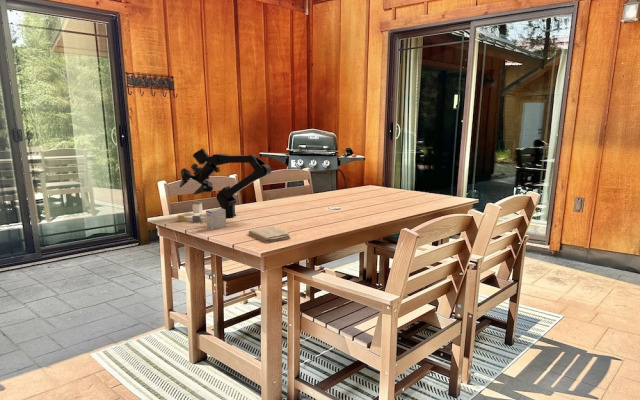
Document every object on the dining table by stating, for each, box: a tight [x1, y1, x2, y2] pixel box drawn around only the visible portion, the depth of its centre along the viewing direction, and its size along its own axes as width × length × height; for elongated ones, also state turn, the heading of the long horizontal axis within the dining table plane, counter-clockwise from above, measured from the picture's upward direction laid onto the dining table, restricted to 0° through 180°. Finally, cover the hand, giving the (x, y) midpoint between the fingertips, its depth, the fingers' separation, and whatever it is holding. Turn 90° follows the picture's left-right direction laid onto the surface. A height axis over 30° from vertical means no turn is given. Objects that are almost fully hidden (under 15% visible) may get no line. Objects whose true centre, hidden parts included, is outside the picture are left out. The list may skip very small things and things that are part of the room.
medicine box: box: [205, 207, 227, 231], centre depth 193 cm, size 8×4×9 cm, turn 141°
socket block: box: [175, 212, 206, 223], centre depth 211 cm, size 15×12×3 cm
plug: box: [192, 200, 204, 213], centre depth 222 cm, size 4×4×7 cm
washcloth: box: [248, 226, 291, 243], centre depth 179 cm, size 12×18×3 cm, turn 37°
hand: (187, 190), depth 221 cm, fingers open, 9 cm apart
